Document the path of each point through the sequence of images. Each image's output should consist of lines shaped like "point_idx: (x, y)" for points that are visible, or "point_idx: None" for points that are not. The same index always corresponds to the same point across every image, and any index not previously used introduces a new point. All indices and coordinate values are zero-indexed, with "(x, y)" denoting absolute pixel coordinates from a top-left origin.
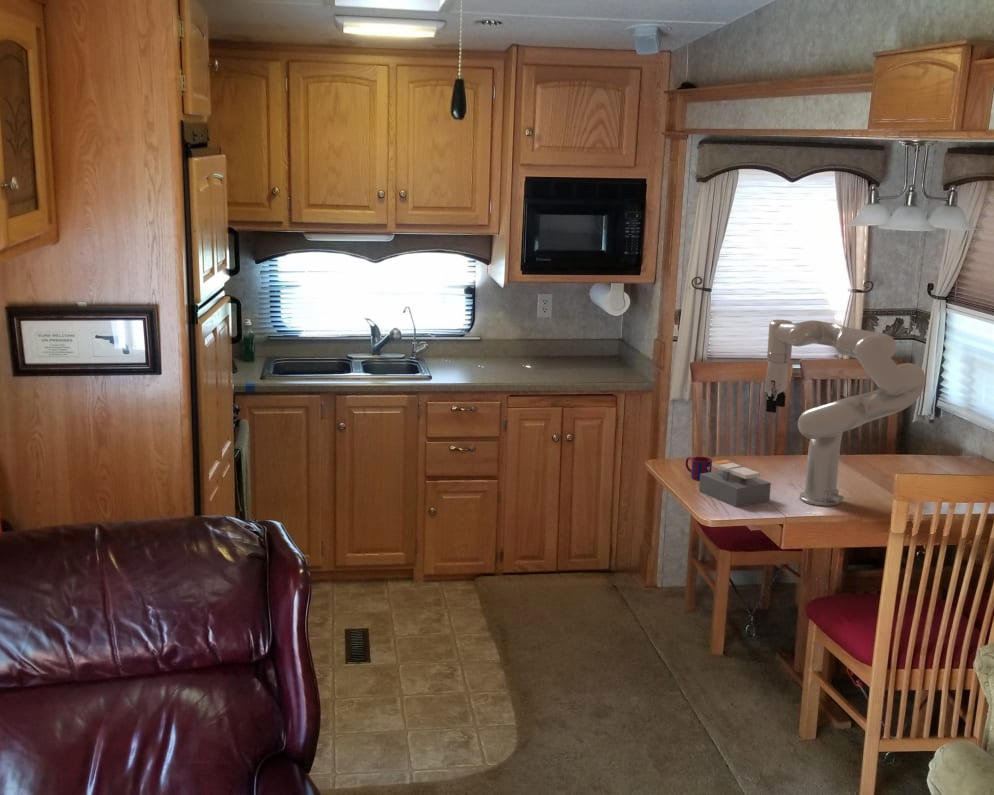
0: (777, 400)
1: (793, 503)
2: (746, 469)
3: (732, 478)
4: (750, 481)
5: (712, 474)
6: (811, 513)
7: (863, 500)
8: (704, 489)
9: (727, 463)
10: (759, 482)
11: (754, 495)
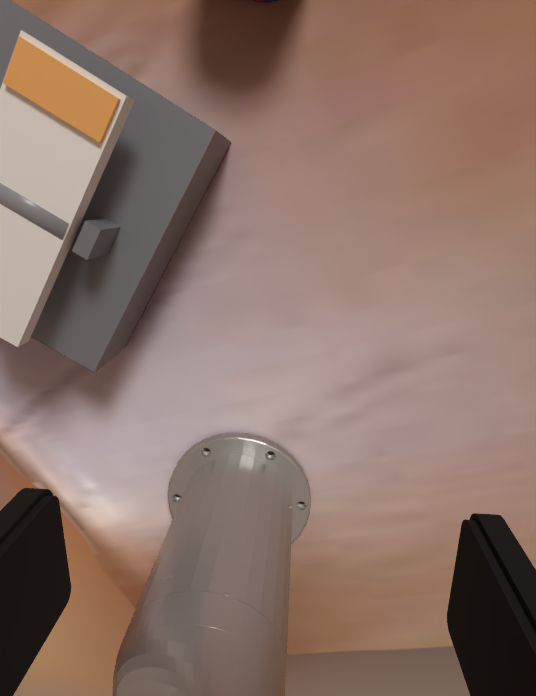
0: (493, 613)
1: (151, 426)
2: (27, 269)
3: None
4: (53, 288)
5: None
6: (85, 495)
7: (322, 604)
8: None
9: (66, 129)
10: (66, 328)
11: None
